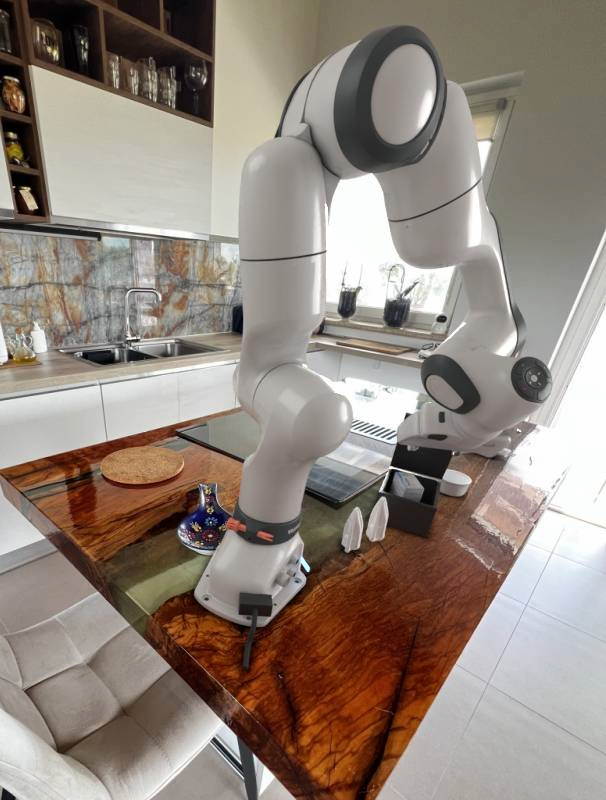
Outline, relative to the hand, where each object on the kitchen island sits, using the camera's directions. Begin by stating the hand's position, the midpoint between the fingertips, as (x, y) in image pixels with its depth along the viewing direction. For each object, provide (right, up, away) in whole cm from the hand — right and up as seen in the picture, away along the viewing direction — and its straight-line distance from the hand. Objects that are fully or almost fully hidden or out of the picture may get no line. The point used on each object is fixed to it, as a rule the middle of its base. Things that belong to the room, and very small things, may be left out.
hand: (432, 450), depth 89 cm
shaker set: (-15, -20, +2) cm, 25 cm away
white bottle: (+44, +5, +52) cm, 68 cm away
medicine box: (-2, -13, +13) cm, 19 cm away
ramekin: (+17, -8, +27) cm, 33 cm away
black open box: (-1, -14, +14) cm, 20 cm away
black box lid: (+2, +2, +9) cm, 10 cm away
